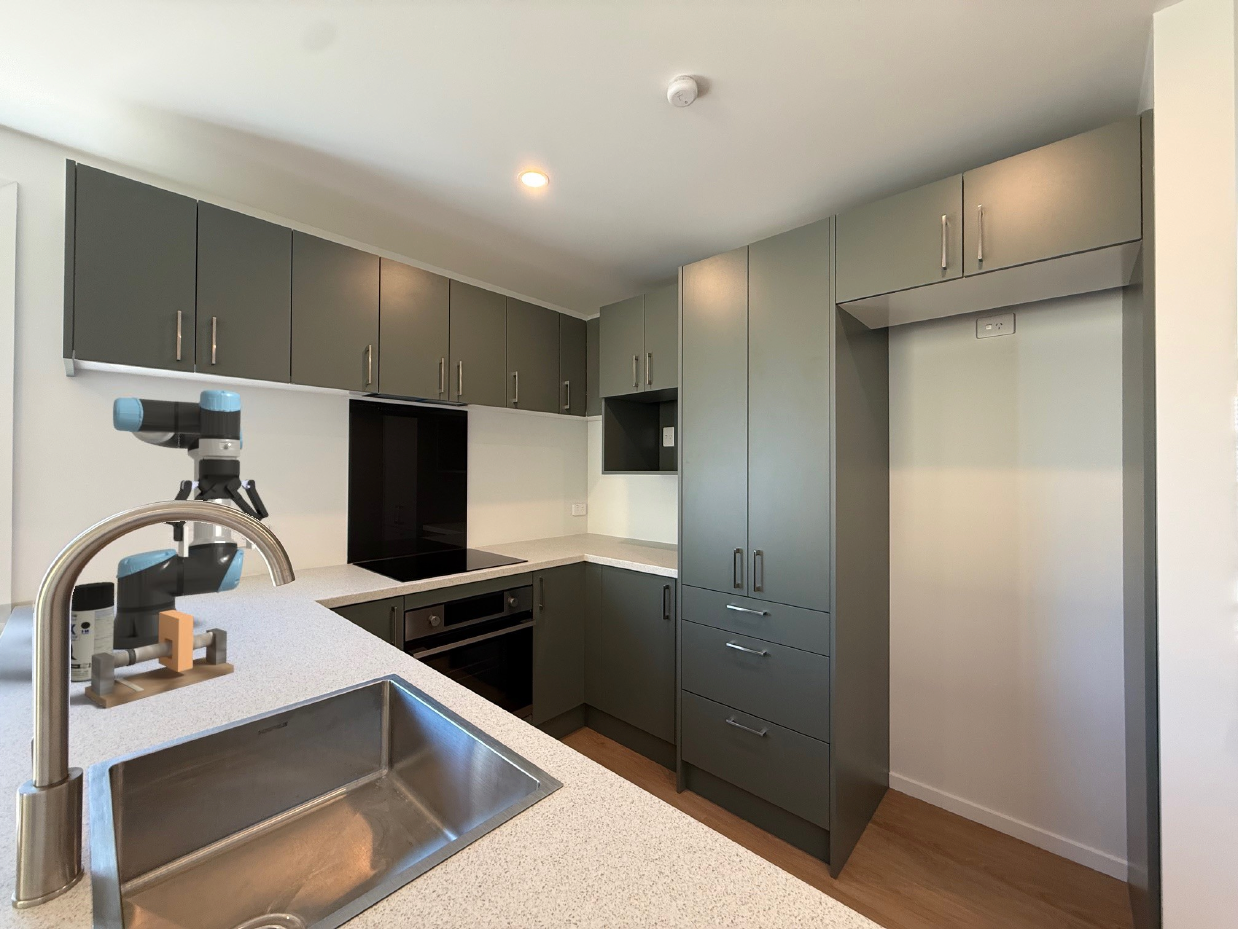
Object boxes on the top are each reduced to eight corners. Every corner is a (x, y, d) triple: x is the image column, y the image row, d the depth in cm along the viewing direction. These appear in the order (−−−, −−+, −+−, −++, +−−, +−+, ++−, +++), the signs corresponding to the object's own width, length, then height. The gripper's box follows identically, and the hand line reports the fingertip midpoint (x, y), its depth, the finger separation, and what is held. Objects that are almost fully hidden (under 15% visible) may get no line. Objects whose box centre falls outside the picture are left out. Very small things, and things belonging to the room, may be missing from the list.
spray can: (69, 676, 114) (70, 584, 114) (112, 668, 119) (113, 580, 119) (69, 685, 109) (71, 589, 110) (114, 676, 114) (116, 584, 115)
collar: (172, 659, 116) (173, 609, 116) (192, 668, 111) (193, 616, 111) (158, 663, 114) (159, 612, 114) (178, 672, 109) (178, 618, 109)
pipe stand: (209, 662, 123) (209, 625, 123) (233, 672, 117) (234, 633, 117) (84, 694, 105) (85, 651, 105) (106, 708, 98) (107, 662, 99)
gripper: (158, 457, 107) (157, 561, 107) (285, 459, 128) (284, 546, 128) (143, 457, 111) (142, 558, 110) (269, 459, 132) (268, 544, 132)
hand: (218, 552), depth 119 cm, fingers open, 12 cm apart
